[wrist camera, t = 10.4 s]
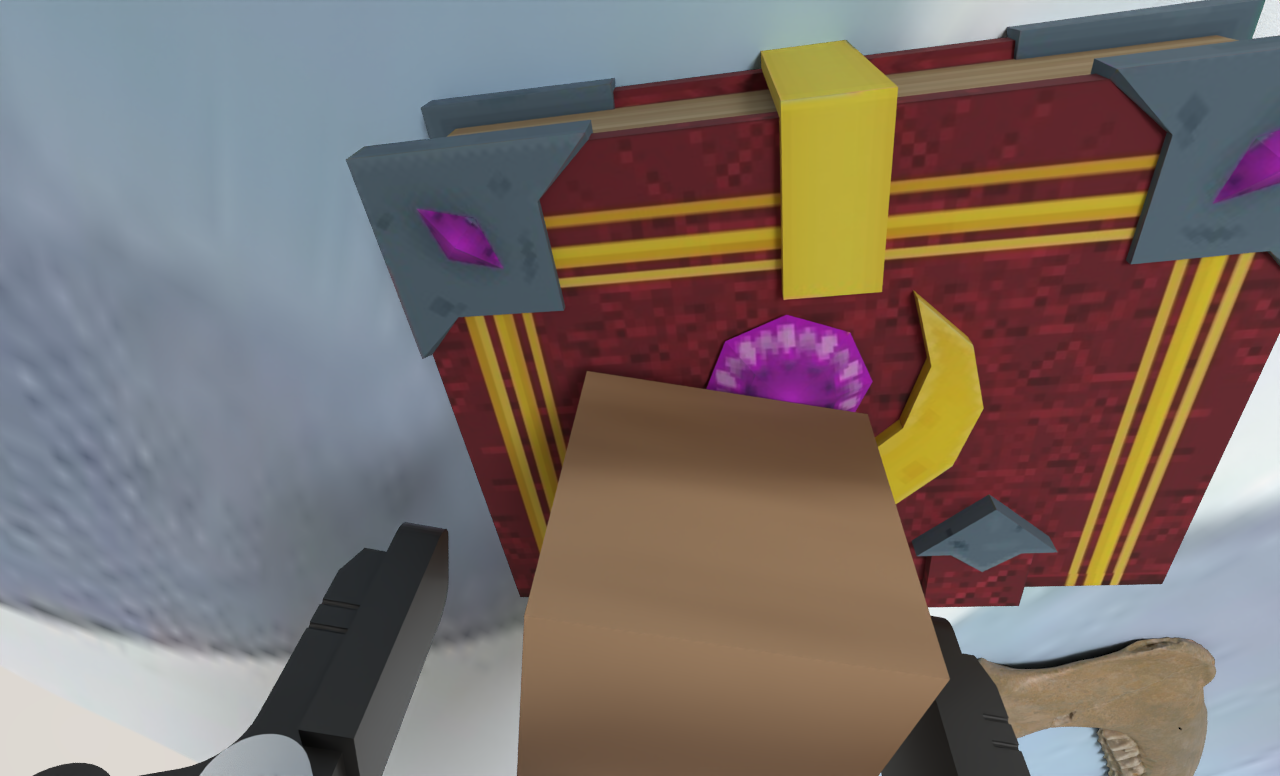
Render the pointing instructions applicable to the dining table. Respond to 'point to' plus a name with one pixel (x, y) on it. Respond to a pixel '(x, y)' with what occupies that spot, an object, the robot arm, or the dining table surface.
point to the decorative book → (878, 273)
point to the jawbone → (1120, 703)
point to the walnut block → (721, 594)
